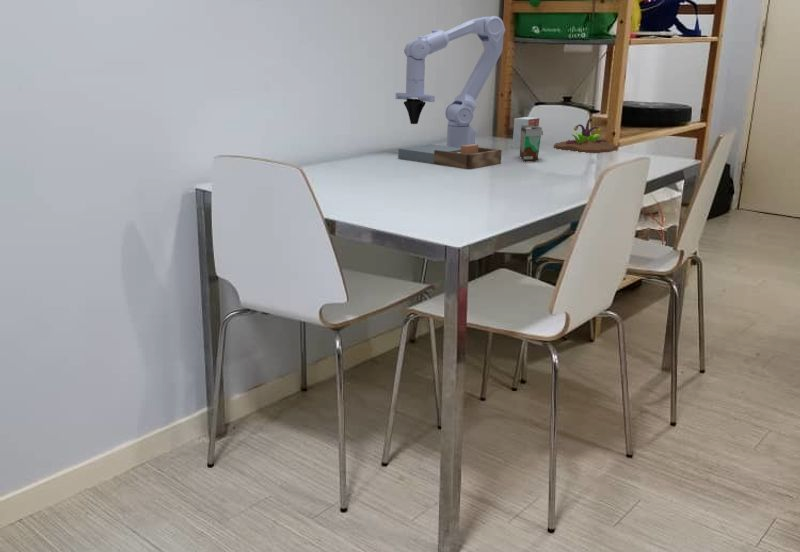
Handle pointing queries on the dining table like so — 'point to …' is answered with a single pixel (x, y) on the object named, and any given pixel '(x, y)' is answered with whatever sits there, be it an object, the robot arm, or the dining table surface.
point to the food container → (530, 142)
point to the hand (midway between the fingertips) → (414, 123)
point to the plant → (586, 141)
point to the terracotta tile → (469, 149)
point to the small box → (517, 128)
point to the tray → (468, 158)
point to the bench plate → (423, 152)
